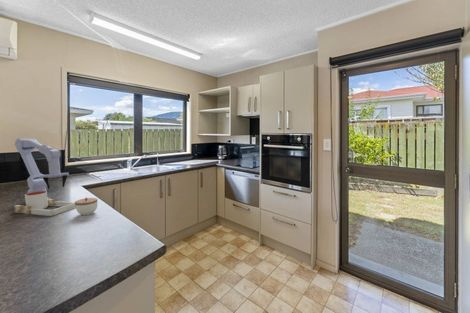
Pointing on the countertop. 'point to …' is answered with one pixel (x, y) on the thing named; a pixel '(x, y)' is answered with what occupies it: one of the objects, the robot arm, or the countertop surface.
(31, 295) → the countertop surface
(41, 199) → the cup
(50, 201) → the bay
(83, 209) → the lidded jar
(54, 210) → the dock
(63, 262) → the countertop surface
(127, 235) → the countertop surface
